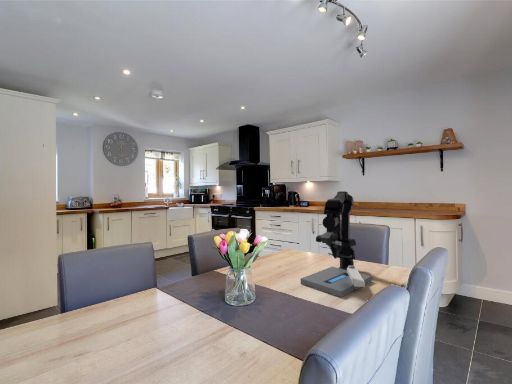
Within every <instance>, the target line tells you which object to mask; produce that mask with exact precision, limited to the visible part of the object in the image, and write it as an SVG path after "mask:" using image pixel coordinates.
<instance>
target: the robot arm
mask: <svg viewBox="0 0 512 384" xmlns="http://www.w3.org/2000/svg"><path fill="white" fill-rule="evenodd" d="M354 205H355V200H354V197H353V196H352V195H350V194H349V193H348V191H345V190H344V191H337V193H336V195H335V196H334V197H333V198H329V199H327V201H326V202H325V205H324V208H323V209H324V210H323V215H326V216H325V217H324V218H323V219H322V221H321V222H322V226H323V227H324V228H325V229H326V232H324V233H322V234H319V235H316V236H315V242H317V243H322V244H325V245H326V246H327V247H329V249H330V251H331V255H332V256H333V259H335V260H336V259H339V267H338V268H340V269H344V270H347V268H348V266H349V265H353V266H355V264H354V263H355V262H354V260H355V259H356V252H355V249H354V246H357V241H356V239H355V238H350V233H351V232H350V225H351V224H350V223H351V221H350V219H351V217H350V216H351V215H350V214H351V212H352V211H353V208H354Z"/></svg>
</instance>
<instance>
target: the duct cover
mask: <svg viewBox="0 0 512 384" xmlns="http://www.w3.org/2000/svg"><path fill="white" fill-rule="evenodd" d="M347 273H348V275H349V277H350V279H351V281H352V283H353V285H354V287H360V288H365V287H366V285H365V282H364V280H363V278H362V277H361V275H360V273H361V272H359V270H358V268H357V267H356V266H355V265H354V266H353V265H349V266H348V268H347Z"/></svg>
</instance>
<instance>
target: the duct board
mask: <svg viewBox="0 0 512 384" xmlns="http://www.w3.org/2000/svg"><path fill="white" fill-rule="evenodd" d="M359 273H360V275H361V277H362V278H363V280H364V282H365V286H366V285H368V284H369V283H371V282H373V281H372V279H373V277H372V275H368V274H364V273H361V272H359ZM341 275H345V276H347V277H345V278H343V279H340V280H338V281H336V282H334V283H331V284H329V283H328V281H329V280H332V279H334V278H336V277H339V276H341ZM300 285H304V286H305V287H309V288H313V289H314V290H319V291H322V292H324V293H328V294H330V295H333V296H336V297H338V298H342V297H345V296H346V295H348V294H350V293H353V292H355V291H356V290H358V289H360V288H361V287H354V285H353V283H352V281H351V279H350V277H349V275H348V273H347V270H344V269H340V268H339V267H336V266H330V267H328V268H325V269H322V270H319V271H317V272H315V273H311V274H309V275H305V276H303V277H301V278H300Z"/></svg>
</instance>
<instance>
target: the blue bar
mask: <svg viewBox="0 0 512 384" xmlns="http://www.w3.org/2000/svg"><path fill="white" fill-rule="evenodd" d="M345 277H347V276H345V275H341V276H339V277H336V278H334V279H332V280H329V281H328V283H329V284H331V283H334V282H336V281H338V280H340V279H343V278H345Z"/></svg>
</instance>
